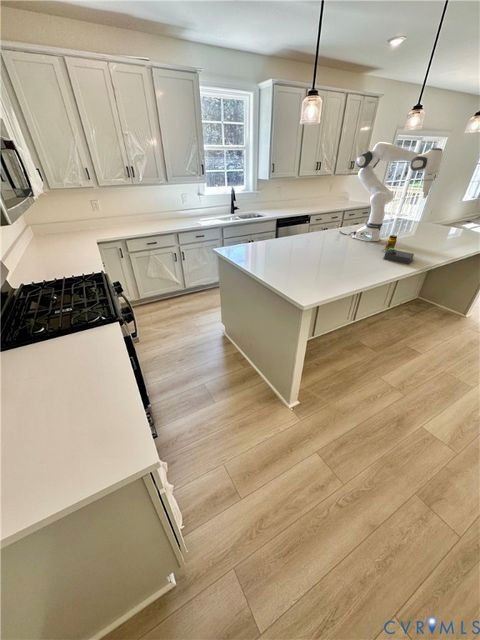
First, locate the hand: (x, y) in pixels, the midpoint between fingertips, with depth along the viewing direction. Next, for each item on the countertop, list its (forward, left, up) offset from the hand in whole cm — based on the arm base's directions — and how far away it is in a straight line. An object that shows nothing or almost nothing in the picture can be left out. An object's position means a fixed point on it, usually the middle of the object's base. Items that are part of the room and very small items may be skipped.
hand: (425, 196), depth 187 cm
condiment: (-9, -18, -38) cm, 43 cm away
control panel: (+1, -33, -38) cm, 50 cm away
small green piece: (-4, -36, -32) cm, 49 cm away
